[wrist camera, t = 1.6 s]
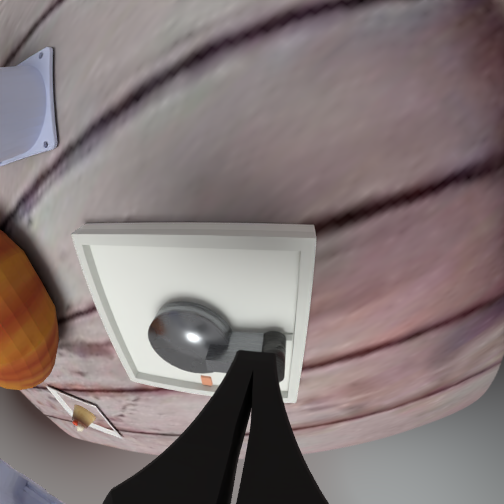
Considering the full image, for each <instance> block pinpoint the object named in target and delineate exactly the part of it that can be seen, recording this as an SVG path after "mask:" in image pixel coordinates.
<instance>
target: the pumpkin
mask: <svg viewBox="0 0 504 504" xmlns="http://www.w3.org/2000/svg"><path fill="white" fill-rule="evenodd" d="M58 342H59V332H58V323H57V316H56V309H55V305H54V304H53V302H52V300H51V298H50V297H49V295H48V293H47V291H46V289H45V287H44V285H43V284H42V282H41V280H40V278H39V276H38V275H37V273H36V272H35V270H34V268H33V267H32V265H31V263H30V261H29V260H28V258H27V256H26V254H25V253H24V251H23V250H22V249H21V248H20V247H19V246H18V245H16V244H15V243H14V242H13V241H12V240H11V239H10V238H9V237H8V236H7V235H6V234H5V233H4V232H3V231H1V230H0V387H3V388H7V389H16V390H22V389H28V388H33V387H35V386H36V385H38V384H40V383H42V382H43V381H44V380H45V379H46V378H47V377H48V376H49V375H50V373H51V371H52V369H53V366H54V364H55V359H56V353H57V348H58Z"/></svg>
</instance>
